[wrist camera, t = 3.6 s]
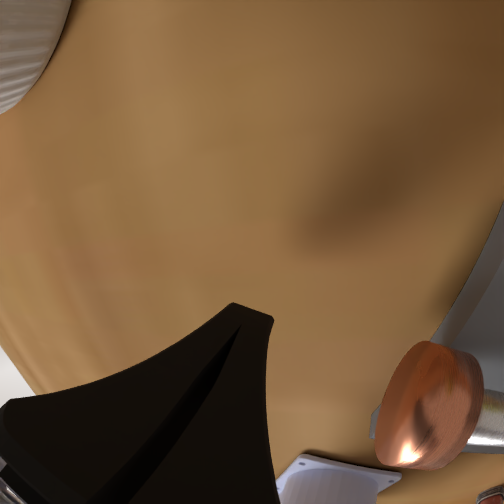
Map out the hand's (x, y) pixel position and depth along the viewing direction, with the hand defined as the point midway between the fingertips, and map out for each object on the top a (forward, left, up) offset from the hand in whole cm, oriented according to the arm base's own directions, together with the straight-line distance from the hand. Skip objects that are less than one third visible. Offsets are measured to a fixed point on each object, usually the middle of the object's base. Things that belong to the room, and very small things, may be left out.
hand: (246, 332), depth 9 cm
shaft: (0, -15, -1) cm, 15 cm away
